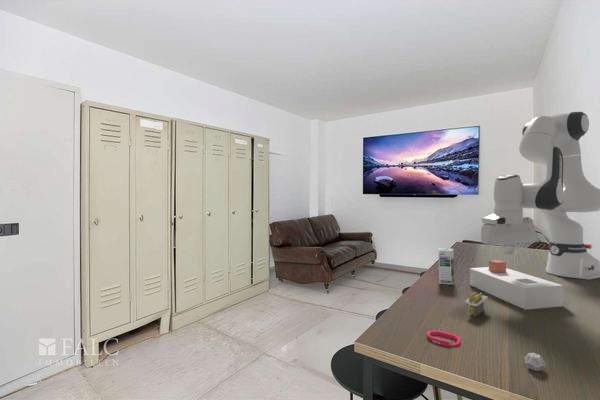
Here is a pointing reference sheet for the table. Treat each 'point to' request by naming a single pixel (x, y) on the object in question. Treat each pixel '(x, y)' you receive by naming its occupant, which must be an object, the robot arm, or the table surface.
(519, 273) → the block
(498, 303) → the table surface
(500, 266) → the red plug
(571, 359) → the table surface
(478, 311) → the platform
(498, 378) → the table surface
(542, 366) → the grey irregular lump
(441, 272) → the syrup box
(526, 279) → the gray rectangular block
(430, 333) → the fitness band
